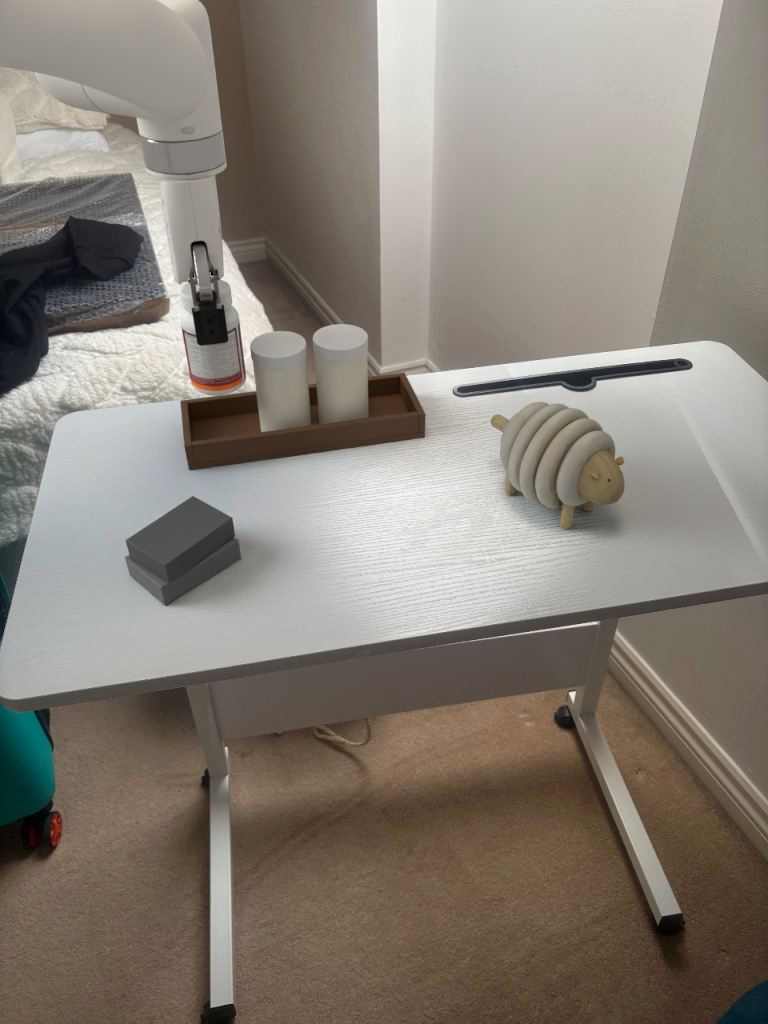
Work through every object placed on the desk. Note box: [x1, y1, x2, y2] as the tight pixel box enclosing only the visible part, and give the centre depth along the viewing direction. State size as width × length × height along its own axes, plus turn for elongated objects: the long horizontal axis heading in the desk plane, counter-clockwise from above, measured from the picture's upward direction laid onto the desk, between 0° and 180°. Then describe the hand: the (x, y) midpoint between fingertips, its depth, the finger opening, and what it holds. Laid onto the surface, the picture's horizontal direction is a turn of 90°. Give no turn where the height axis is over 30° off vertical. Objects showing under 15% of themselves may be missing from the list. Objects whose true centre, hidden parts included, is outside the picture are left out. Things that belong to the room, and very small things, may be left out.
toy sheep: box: [490, 401, 625, 530], centre depth 86 cm, size 11×17×11 cm, turn 46°
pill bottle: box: [180, 279, 247, 396], centre depth 89 cm, size 6×6×11 cm
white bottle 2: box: [312, 323, 369, 424], centre depth 96 cm, size 6×6×11 cm
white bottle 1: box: [249, 330, 311, 432], centre depth 95 cm, size 6×6×11 cm
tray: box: [179, 372, 426, 471], centre depth 99 cm, size 28×10×3 cm, turn 103°
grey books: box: [124, 495, 242, 606], centre depth 80 cm, size 9×6×5 cm
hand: (210, 326), depth 89 cm, fingers closed on pill bottle, 6 cm apart
